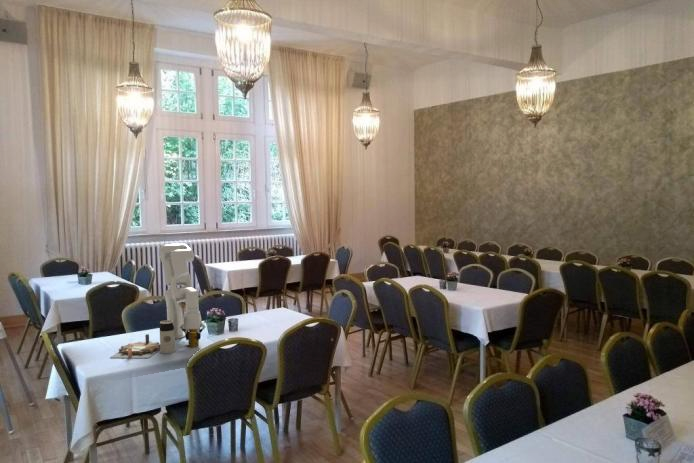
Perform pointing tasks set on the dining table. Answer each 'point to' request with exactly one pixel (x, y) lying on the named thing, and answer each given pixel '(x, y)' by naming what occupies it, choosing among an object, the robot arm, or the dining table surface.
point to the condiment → (192, 339)
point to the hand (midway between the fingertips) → (193, 339)
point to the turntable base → (130, 355)
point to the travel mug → (167, 337)
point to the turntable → (141, 347)
